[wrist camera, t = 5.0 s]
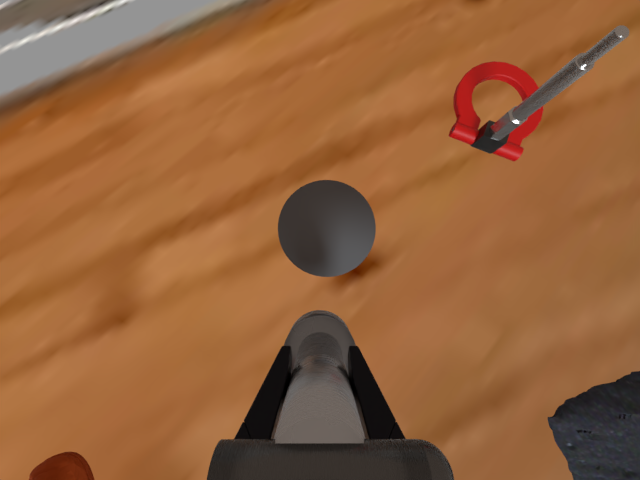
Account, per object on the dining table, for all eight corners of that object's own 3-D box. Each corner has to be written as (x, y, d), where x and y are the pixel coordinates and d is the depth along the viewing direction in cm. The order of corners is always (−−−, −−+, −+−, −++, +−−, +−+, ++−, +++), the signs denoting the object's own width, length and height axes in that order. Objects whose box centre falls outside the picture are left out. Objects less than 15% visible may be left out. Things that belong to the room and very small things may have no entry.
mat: (390, 208, 27) (392, 207, 26) (347, 294, 26) (347, 294, 26) (306, 165, 27) (306, 163, 27) (261, 248, 27) (260, 248, 26)
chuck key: (366, 375, 20) (472, 610, 6) (283, 375, 20) (200, 611, 6) (365, 309, 20) (460, 390, 6) (284, 310, 20) (208, 390, 6)
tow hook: (465, 57, 29) (436, 137, 28) (586, -117, 16) (542, 15, 15) (544, 87, 29) (519, 168, 28) (729, -67, 16) (697, 72, 15)
